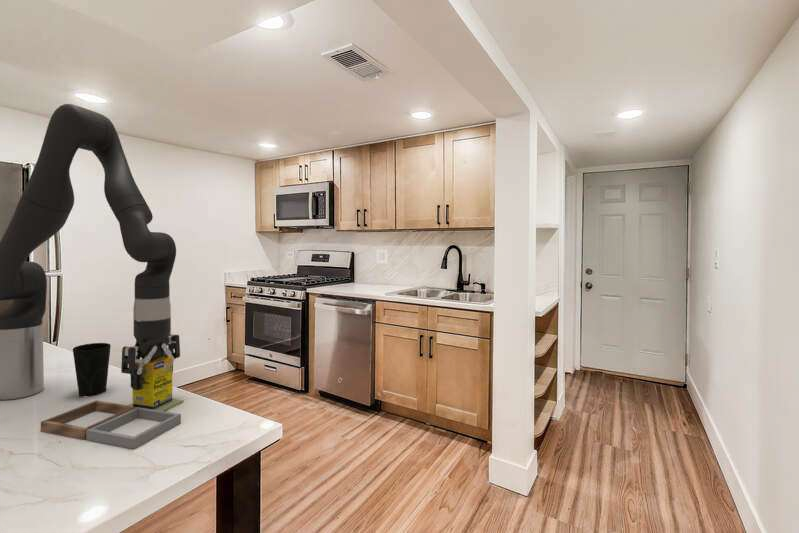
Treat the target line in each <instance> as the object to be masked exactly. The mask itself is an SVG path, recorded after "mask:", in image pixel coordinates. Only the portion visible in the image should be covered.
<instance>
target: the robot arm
mask: <svg viewBox="0 0 799 533" xmlns="http://www.w3.org/2000/svg"><path fill="white" fill-rule="evenodd" d="M79 149H80V150H85V151H88V152H92V153H93V155H94V156H96V158H97V159H98V162H100V163H101V166H102V169H103V171H104V182H103V183H104V184H103V190H104V191H103V192H104V196H105V199H106V202H107V204H108V206H109V208H110V209H111V211H112V213H113V214H114V216H115V219H116V220H117V222H118V223H119V230H120V234H121V239H122V244H123V247H124V249H125V251H126V253H127V254H128V255H129V257H130V258H132V260H135V261H136V262H139V263H147V264H146V267H145V270H143V271H142V272H139V273H138V274H136V275H135V276H134V277H135V278H134V301H133V308H132V310H133V318H132V319H133V337H134V339H135V344H134V345H131V346H126V345H125V346H122V349H121V350H122V351H121V368H120V369H121V370H120V371H121V372H120V373H122V374H128V375H130V387H131V389H132V391H133V390H141V389H142V374H141V372H142V371H143V369H144V367H145V366H146V365H147V364H148V363H149V361H150V360H153V359H155V358H159V357H162V356H165V357H172V375H173V373H174V362H175V360H176V359H178V358H180V356H181V346H180V345H181V344H180V335H179V334H173V333H172V328H171V327H172V326H171V324H172V321H171V320H172V319H171V318H172V311H171V310H172V305H171V298H170V291H171V290H170V278H171V275H172V272H173V269H174V266H175V262H176V258H177V247H176V246H177V245H176V243H175V240H174V238H173V237H172V236H171V235H170V234H169V233H165V232H162V231H161V232H160V231H158V232H157V231H156V232H155V231H150V230H149V227H148V225H149V224H150V223H151V222H152V220H153V218H154V216H153V213H152V210H151V209H150V207H149V205H148V203H147V202H146V200H145V198H144V196H143V194H142V192H141V191H140V189H139V187H138V185H137V183H136V181H135V179H134V177H133V174H132V171H131V168H130V166H129V164H128V163H129V162H128V159H127V157H126V154H125V151H124V149H123V145H122V143H121V140H120V137H119V134H118V131H117V130H116V127H115V125H114V123H113V122H112V121H111V119H109V118H108V117H107V116H106V115H104V114H101V113H99V112H96V111H94V110H92V109H88V108H86V107H82V106H79V105H75V104H72V103H64V104H62V105H59V106H58V107H57V108H56V109H55V110H54V111H53V113H52V115H51V117H50V119H49V122H48V124H47V127H46V131H45V134H44V137H43V142H42V145H41V148H40V151H39V155H38V157H37V161H36V162H35V165H34V167H33V170H32V172H31V175H30V177H29V180H28V181H27V184H26V186H25V187H24V190H23V191H22V194H21V195H20V198H19V200H18V202H17V205H16V206H15V207H16V208H15V210H14V213H13V215H12V217H11V219H10V221H9V223H8V225H7V228H6V230H5V231H4V233H3V235H2V237H1V239H0V301H11V300H12V303H11V304H10V305H9V307H7V308H6V309H5V310H2V311H1V312H0V400H1V401H2V400H15V399H21V398H25V397H29V396H34V395H36V394H38V393H40V392H43V390H44V389H45V385H44V384H45V381H44V380H45V378H44V377H45V375H44V374H45V373H44V370H45V369H44V335H43V334H44V331H43V330H44V328H43V327H44V326H43V325H44V324H43V319H44V316H45V313H46V310H47V291H48V290H47V288H48V285H47V283H48V280H47V275H46V272H45V270H44V267H43V266H42V265H40V264H39V263H37V262H34V261H26V260H27V259H28V257H29V256H30V255H31V253H32V252H34V251H35V250H36V249H38V247H40V246H41V245H42V244H44V243H45V242H47V241H48V240H49V239H51V238H52V237H53V236H54V235H56V234H57V233H58V232H59V231H61V230H62V228H63V227H64V226H65V224H66V222H67V220H68V218H69V216H70V214H71V211H73V207H74V205H75V194H74V188H73V184H72V181H71V176H70V171H71V170H70V169H71V165H72V162H73V160H74V157H75V155H76V154H77V151H78V150H79ZM171 333H172V334H171ZM141 359H143V360H141ZM138 365H139V366H138ZM137 366H138V368H137ZM136 368H137V369H136Z"/></svg>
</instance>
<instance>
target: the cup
mask: <svg viewBox="0 0 799 533" xmlns="http://www.w3.org/2000/svg"><path fill="white" fill-rule="evenodd" d="M111 347H112V346H111V344H110V343H108V342H94V343H85V344H81V345H76V346H75V347H73V348H72V354H73V361H74V368H75V376H76V382H77V389H78V390H77V391H78V396H79V395H80V397H83V396H88V397H94V395H95V396H98V394H99V395H101V393H102V394H104V393H105V392H106V391H107V387H108V386H107V384H108V378H109V377H108V376H109V368H110V367H109V366H110V356H111ZM103 392H104V393H103Z"/></svg>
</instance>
